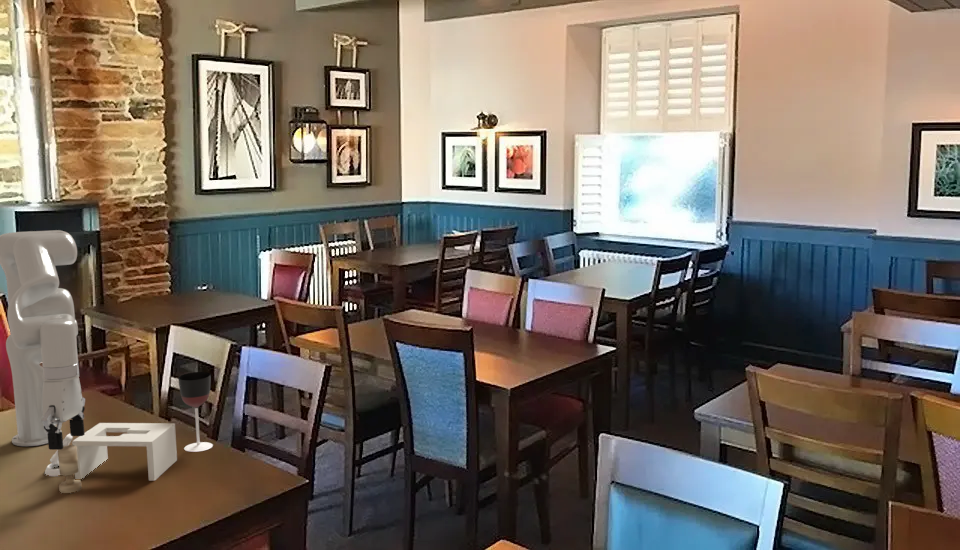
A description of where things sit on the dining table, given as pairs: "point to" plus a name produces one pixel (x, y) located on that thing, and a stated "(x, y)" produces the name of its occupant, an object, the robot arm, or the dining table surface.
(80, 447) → the keyhole shelf
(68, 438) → the hook
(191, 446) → the wineglass
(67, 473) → the peg
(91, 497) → the dining table surface
